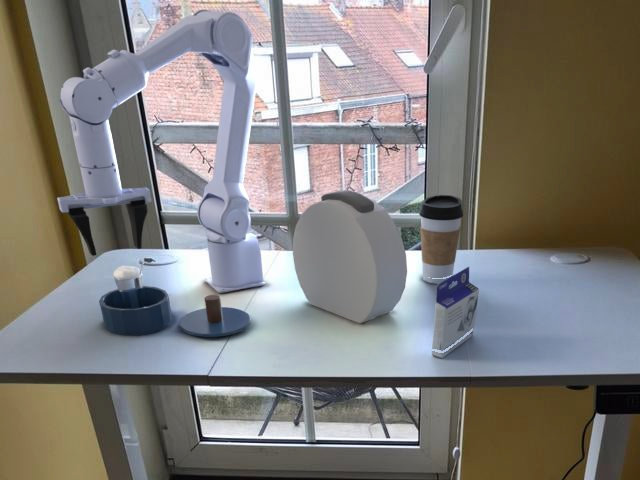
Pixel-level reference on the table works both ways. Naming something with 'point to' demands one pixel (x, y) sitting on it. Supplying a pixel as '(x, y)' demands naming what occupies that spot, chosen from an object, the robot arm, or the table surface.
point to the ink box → (454, 312)
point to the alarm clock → (349, 256)
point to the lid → (214, 319)
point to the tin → (137, 313)
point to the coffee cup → (439, 235)
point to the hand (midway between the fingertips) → (115, 250)
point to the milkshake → (130, 286)
